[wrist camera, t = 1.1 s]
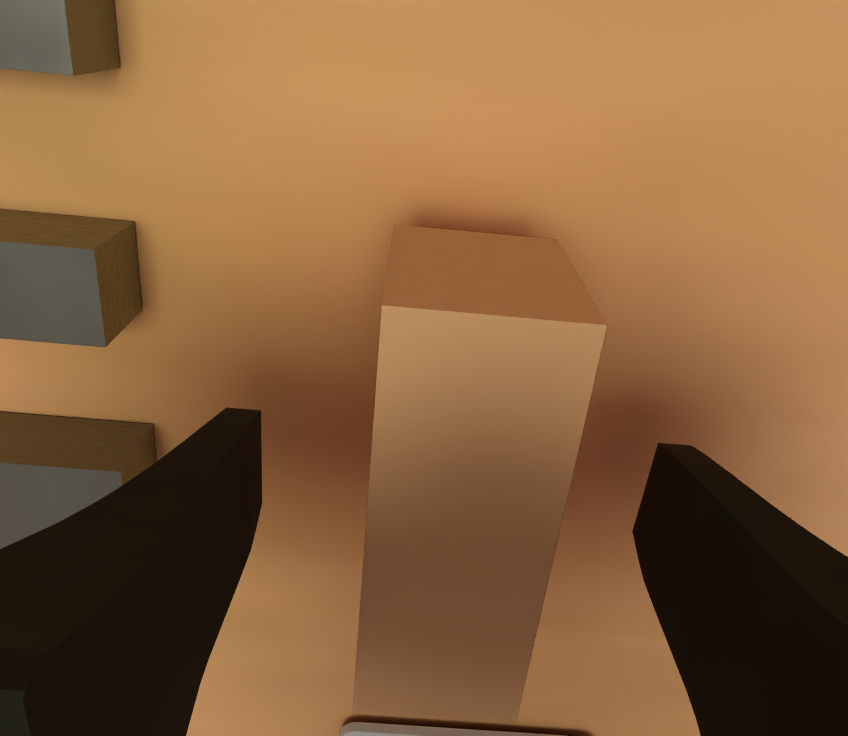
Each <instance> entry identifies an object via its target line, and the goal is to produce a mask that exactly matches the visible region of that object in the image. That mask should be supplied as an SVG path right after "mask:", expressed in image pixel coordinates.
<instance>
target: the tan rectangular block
mask: <svg viewBox="0 0 848 736" xmlns="http://www.w3.org/2000/svg"><path fill="white" fill-rule="evenodd" d="M606 328H607V324H606V323H605V321H604V319H603V318H602V316H601V314H600V312H599V311H598V309H597V307H596V306H595V304H594V302H593V300H592V299H591V297H590V295H589V294H588V292H587V290H586V288H585V287H584V285H583V283H582V282H581V280H580V278H579V276H578V275H577V273H576V271H575V270H574V268H573V266H572V264H571V263H570V261H569V259H568V258H567V256H566V254H565V252H564V251H563V249H562V247H561V246H560V244H559V242H558V240H556V239H545V238H535V237H524V236H513V235H502V234H492V233H481V232H470V231H460V230H449V229H438V228H428V227H417V226H406V225H396V224H394V229H393V236H392V242H391V249H390V255H389V262H388V268H387V275H386V281H385V288H384V294H383V301H382V310H381V324H380V338H379V352H378V365H377V379H376V393H375V407H374V421H373V434H372V448H371V462H370V476H369V490H368V504H367V517H366V531H365V545H364V559H363V573H362V587H361V600H360V614H359V628H358V642H357V656H356V670H355V683H354V697H353V711H352V714H363V715H379V716H394V717H409V718H424V719H439V720H455V721H470V722H485V723H500V724H516V720H517V716H518V711H519V707H520V703H521V698H522V694H523V690H524V685H525V681H526V677H527V672H528V668H529V663H530V659H531V655H532V650H533V646H534V642H535V637H536V633H537V629H538V624H539V620H540V615H541V611H542V607H543V602H544V598H545V594H546V589H547V585H548V581H549V576H550V572H551V568H552V563H553V559H554V554H555V550H556V546H557V541H558V537H559V533H560V528H561V524H562V520H563V515H564V511H565V507H566V502H567V498H568V493H569V489H570V485H571V480H572V476H573V472H574V467H575V463H576V459H577V454H578V450H579V445H580V441H581V437H582V432H583V428H584V424H585V419H586V415H587V411H588V406H589V402H590V398H591V393H592V389H593V384H594V380H595V376H596V371H597V367H598V363H599V358H600V354H601V350H602V345H603V341H604V337H605V332H606Z"/></svg>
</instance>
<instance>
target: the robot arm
mask: <svg viewBox="0 0 848 736" xmlns="http://www.w3.org/2000/svg"><path fill="white" fill-rule="evenodd" d="M261 505H262V459H261V410H249V409H236V408H226V409H224V410H223V411H222V412H220V413H219V414H218V415H216V416H215V417H214V418H213V419H211V420H210V421H209V422H207V423H206V424H205V425H204V426H202V427H201V428H200V429H199V430H197V431H196V432H195V433H194V434H192V435H191V436H190V437H189V438H187V439H186V440H185V441H184V442H182V443H181V444H180V445H178V446H177V447H176V448H174V449H173V450H172V451H170V452H169V453H168V454H166V455H165V456H164V457H163V458H161V459H160V460H159V461H157V462H156V463H154V464H153V465H151V466H150V467H149V468H147V469H146V470H144V471H143V472H141V473H140V474H138V475H137V476H135V477H134V478H132V479H131V480H129V481H128V482H126V483H125V484H123V485H122V486H120V487H119V488H118V489H116V490H114V491H113V492H111V493H110V494H108V495H106V496H105V497H103V498H101V499H100V500H98V501H96V502H94V503H93V504H91V505H89V506H87V507H86V508H84V509H82V510H80V511H78V512H76V513H75V514H73V515H71V516H69V517H67V518H65V519H64V520H62V521H60V522H58V523H56V524H54V525H52V526H49V527H47V528H45V529H43V530H41V531H39V532H36V533H34V534H32V535H30V536H28V537H25V538H23V539H21V540H19V541H17V542H15V543H12V544H10V545H8V546H6V547H4V548H1V549H0V736H186V733H187V730H188V726H189V723H190V719H191V715H192V712H193V708H194V704H195V701H196V697H197V694H198V690H199V686H200V683H201V680H202V677H203V674H204V671H205V668H206V665H207V662H208V659H209V657H210V654H211V652H212V649H213V646H214V644H215V641H216V639H217V636H218V634H219V631H220V629H221V626H222V623H223V621H224V618H225V616H226V613H227V611H228V608H229V606H230V603H231V600H232V598H233V595H234V593H235V590H236V588H237V585H238V582H239V580H240V577H241V575H242V572H243V569H244V567H245V564H246V562H247V559H248V556H249V553H250V551H251V547H252V543H253V539H254V535H255V531H256V527H257V522H258V518H259V514H260V510H261ZM633 536H634V541H635V545H636V550H637V555H638V559H639V563H640V567H641V571H642V575H643V579H644V582H645V585H646V588H647V591H648V593H649V596H650V598H651V601H652V604H653V606H654V609H655V612H656V614H657V617H658V619H659V622H660V624H661V627H662V629H663V632H664V635H665V637H666V640H667V642H668V645H669V647H670V650H671V652H672V655H673V657H674V660H675V662H676V665H677V668H678V670H679V673H680V675H681V678H682V680H683V683H684V685H685V688H686V690H687V693H688V696H689V699H690V702H691V705H692V708H693V711H694V714H695V717H696V720H697V724H698V727H699V731H700V735H701V736H848V557H847V556H845V555H843V554H842V553H840V552H839V551H837V550H836V549H834V548H833V547H831V546H830V545H828V544H827V543H825V542H824V541H822V540H821V539H819V538H818V537H816V536H815V535H813V534H812V533H810V532H809V531H807V530H806V529H805V528H803V527H802V526H800V525H799V524H797V523H796V522H795V521H793V520H792V519H791V518H789V517H788V516H786V515H785V514H784V513H782V512H781V511H780V510H778V509H777V508H775V507H774V506H773V505H771V504H770V503H769V502H767V501H766V500H765V499H763V498H762V497H761V496H759V495H758V494H757V493H755V492H754V491H753V490H752V489H750V488H749V487H748V486H746V485H745V484H744V483H742V482H741V481H740V480H738V479H737V478H736V477H735V476H733V475H732V474H731V473H729V472H728V471H727V470H725V469H724V468H723V467H721V466H720V465H719V464H717V463H716V462H715V461H713V460H712V459H711V458H709V457H708V456H706V455H705V454H703V453H702V452H700V451H699V450H697V449H696V448H694V447H693V446H689V445H676V444H664V443H658V446H657V449H656V453H655V456H654V459H653V463H652V466H651V470H650V473H649V477H648V480H647V483H646V487H645V490H644V494H643V497H642V501H641V504H640V507H639V511H638V514H637V518H636V521H635V525H634V528H633ZM340 736H566V735H551V734H535V733H520V732H505V731H489V730H474V729H458V728H443V727H427V726H412V725H397V724H381V723H366V722H351V723H349V724H346V725H345V726H344V727H342V729H341V731H340Z"/></svg>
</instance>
